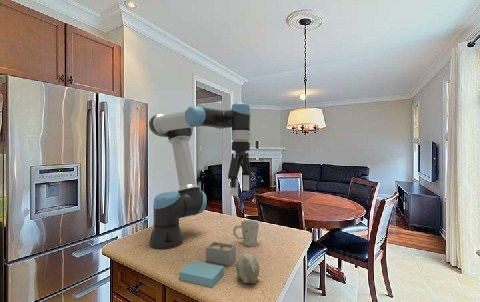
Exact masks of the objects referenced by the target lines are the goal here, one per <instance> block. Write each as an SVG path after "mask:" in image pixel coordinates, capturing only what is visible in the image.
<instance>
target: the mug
mask: <svg viewBox="0 0 480 302" xmlns="http://www.w3.org/2000/svg"><path fill="white" fill-rule="evenodd" d="M259 227H260V222H259V221H257V220H253V219H251V220H250V219H246V220H243V221H241V222H240V224H237V225H235V226H234V227H233V229H232V234H233V236H234V238H236V239H237V240H242V242H243V245H244V246H246V247H254V246H256V245H257V239H258V233H259ZM237 229H241V234H242V237H241V236H238V235H237V233H236V230H237Z"/></svg>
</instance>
